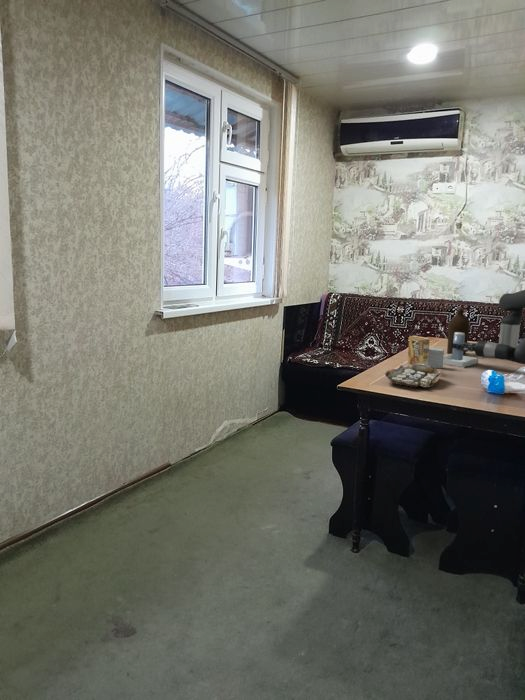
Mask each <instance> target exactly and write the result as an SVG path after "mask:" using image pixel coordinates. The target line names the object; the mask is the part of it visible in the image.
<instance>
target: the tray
mask: <svg viewBox="0 0 525 700" xmlns="http://www.w3.org/2000/svg"><path fill="white" fill-rule="evenodd" d="M478 362H479V358H477V357H472V356H467V355H463V360H453V359H452V354H446V355H444V357H443V365H445V364H446V366H451V365H453V366H452V367H456V366H458V367H457V368H462V367H464V368H467V367H470V366H473V364H474V365H477V364H478ZM476 363H477V364H476ZM466 366H467V367H466Z"/></svg>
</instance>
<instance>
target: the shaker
mask: <svg viewBox="0 0 525 700" xmlns="http://www.w3.org/2000/svg"><path fill="white" fill-rule="evenodd" d="M464 340H465V333H462V332H455V334H454V340H453V343H455V344H464ZM460 348H461V346H460ZM463 356H464V355H463V351H461V350H457V348H453V351H452V359H453V360H463Z"/></svg>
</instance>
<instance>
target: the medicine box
mask: <svg viewBox="0 0 525 700" xmlns="http://www.w3.org/2000/svg"><path fill="white" fill-rule="evenodd" d="M444 354H445V349H443V348H434V347H429V355H428V365H431V366H434V367H435V369H443V365H444V364H443V357H444V356H445V355H444Z"/></svg>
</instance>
